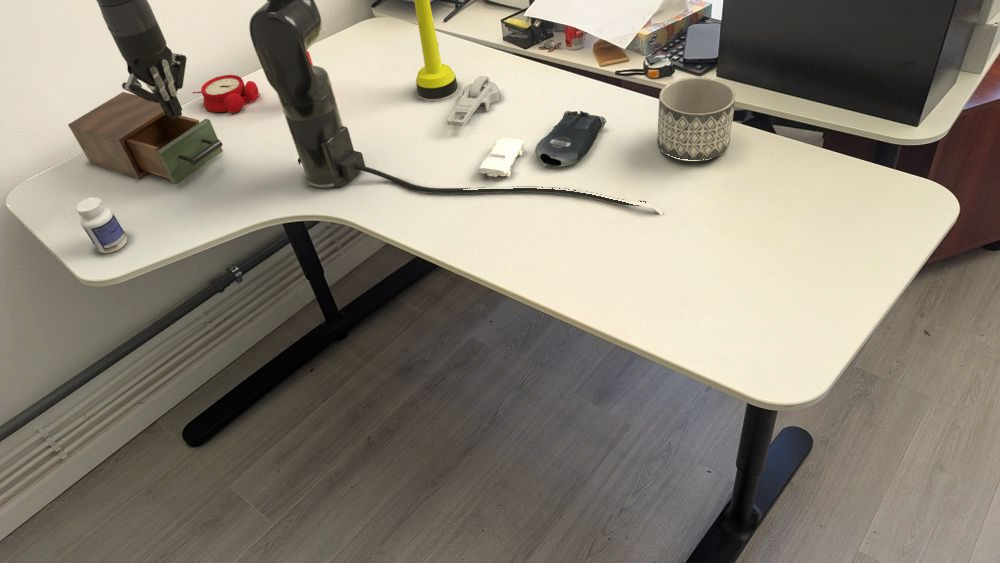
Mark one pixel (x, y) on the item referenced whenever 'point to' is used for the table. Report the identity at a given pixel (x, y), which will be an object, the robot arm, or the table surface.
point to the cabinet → (115, 131)
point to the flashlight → (432, 60)
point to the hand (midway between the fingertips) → (175, 116)
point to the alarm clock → (228, 93)
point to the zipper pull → (474, 100)
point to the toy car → (502, 157)
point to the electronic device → (569, 139)
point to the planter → (695, 118)
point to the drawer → (174, 147)
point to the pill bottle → (101, 225)
